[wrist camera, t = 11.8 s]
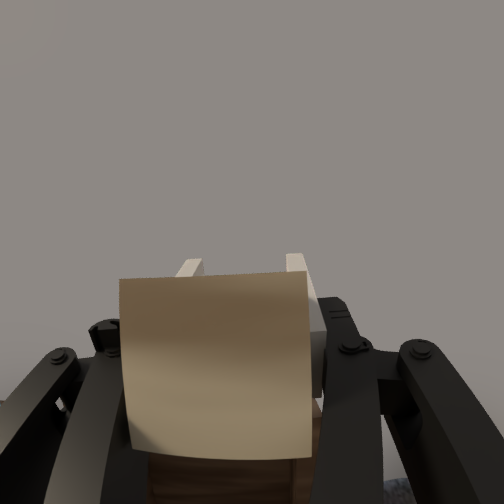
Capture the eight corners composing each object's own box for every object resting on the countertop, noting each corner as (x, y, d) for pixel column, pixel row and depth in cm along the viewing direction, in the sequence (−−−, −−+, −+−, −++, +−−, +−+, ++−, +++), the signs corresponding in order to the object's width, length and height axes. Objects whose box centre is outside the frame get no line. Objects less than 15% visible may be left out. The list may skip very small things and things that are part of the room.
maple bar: (311, 456, 5) (306, 270, 6) (132, 449, 5) (119, 278, 6) (283, 343, 29) (281, 303, 29) (242, 345, 29) (240, 305, 30)
